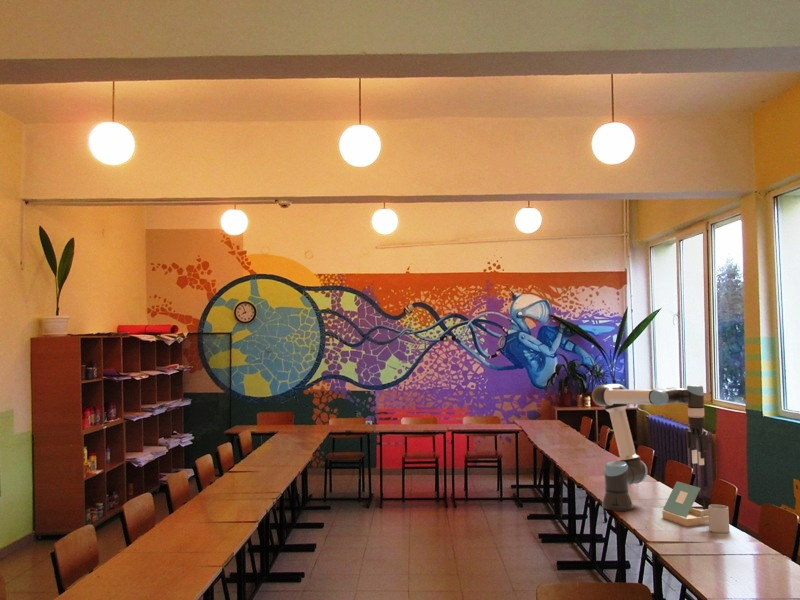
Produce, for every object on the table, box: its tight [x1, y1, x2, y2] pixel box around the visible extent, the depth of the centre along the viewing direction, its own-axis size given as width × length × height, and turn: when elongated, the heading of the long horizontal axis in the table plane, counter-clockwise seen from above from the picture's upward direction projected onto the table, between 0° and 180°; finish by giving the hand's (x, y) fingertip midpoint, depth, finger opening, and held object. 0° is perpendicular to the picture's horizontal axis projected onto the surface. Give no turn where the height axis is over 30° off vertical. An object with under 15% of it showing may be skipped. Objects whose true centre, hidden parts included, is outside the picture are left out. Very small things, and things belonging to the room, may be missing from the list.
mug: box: [701, 503, 730, 534], centre depth 316 cm, size 12×8×11 cm
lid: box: [662, 481, 701, 518], centre depth 332 cm, size 16×16×1 cm
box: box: [661, 507, 709, 528], centre depth 333 cm, size 17×17×4 cm
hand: (698, 464), depth 336 cm, fingers open, 4 cm apart
